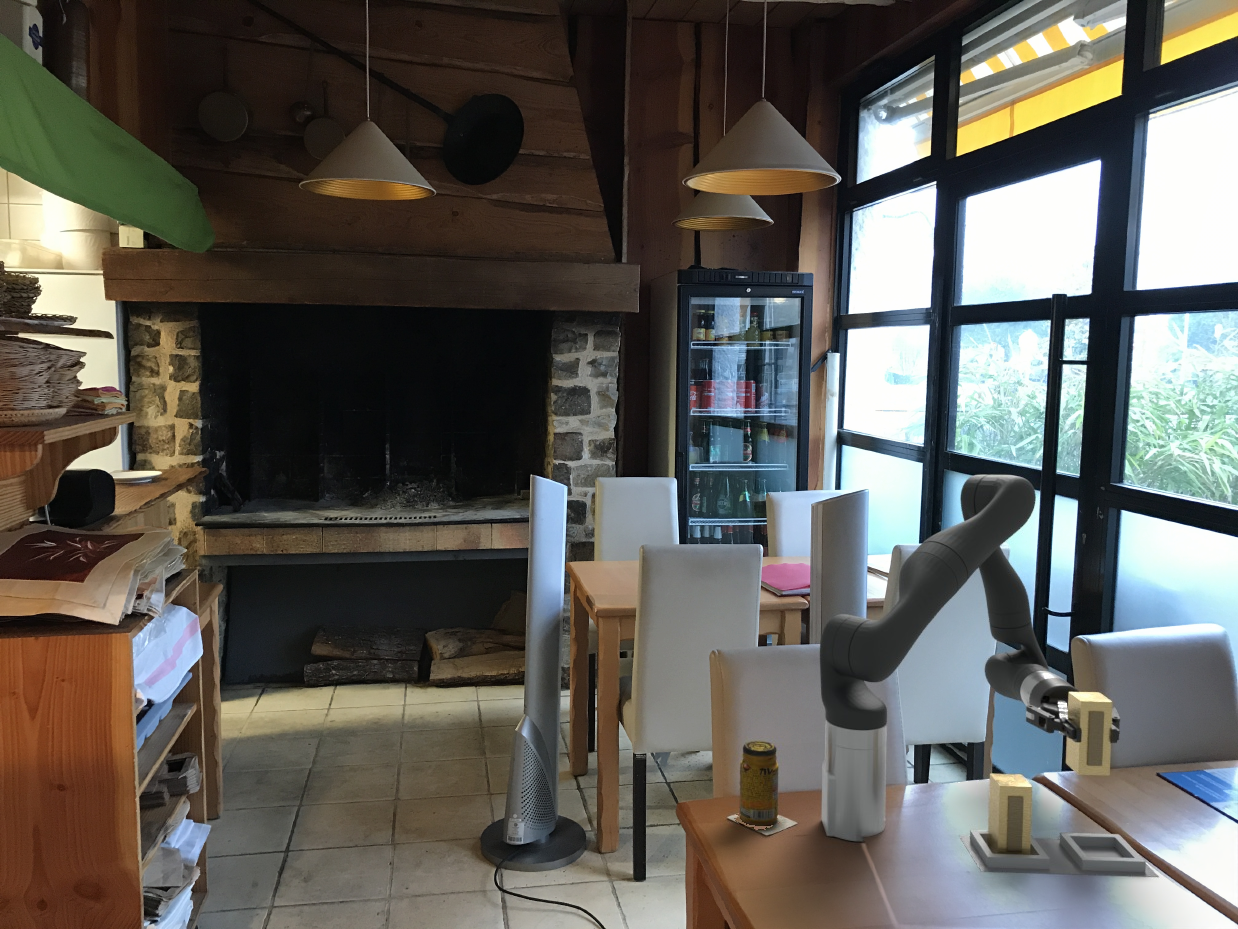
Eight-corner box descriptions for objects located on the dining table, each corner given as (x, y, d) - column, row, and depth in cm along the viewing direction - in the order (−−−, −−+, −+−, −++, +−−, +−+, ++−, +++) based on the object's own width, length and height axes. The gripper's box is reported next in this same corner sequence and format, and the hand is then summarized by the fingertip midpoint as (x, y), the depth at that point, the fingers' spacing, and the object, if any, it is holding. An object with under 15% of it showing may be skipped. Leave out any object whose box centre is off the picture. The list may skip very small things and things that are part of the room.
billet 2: (1078, 775, 144) (1081, 701, 143) (1065, 763, 148) (1068, 691, 148) (1110, 776, 143) (1113, 702, 143) (1096, 764, 148) (1099, 692, 147)
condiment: (757, 806, 161) (758, 735, 160) (798, 824, 154) (799, 749, 154) (726, 819, 156) (727, 745, 156) (766, 837, 150) (767, 760, 149)
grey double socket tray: (980, 878, 137) (981, 861, 137) (958, 842, 148) (959, 826, 148) (1158, 883, 136) (1159, 866, 135) (1123, 847, 147) (1123, 830, 146)
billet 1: (998, 862, 140) (1000, 786, 139) (987, 846, 145) (989, 773, 144) (1030, 863, 139) (1033, 787, 139) (1019, 847, 144) (1021, 774, 143)
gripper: (1007, 676, 160) (1047, 710, 143) (1097, 677, 159) (1148, 712, 142) (1006, 721, 160) (1046, 760, 143) (1096, 723, 160) (1146, 762, 143)
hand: (1097, 736), depth 143 cm, fingers closed on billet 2, 4 cm apart
